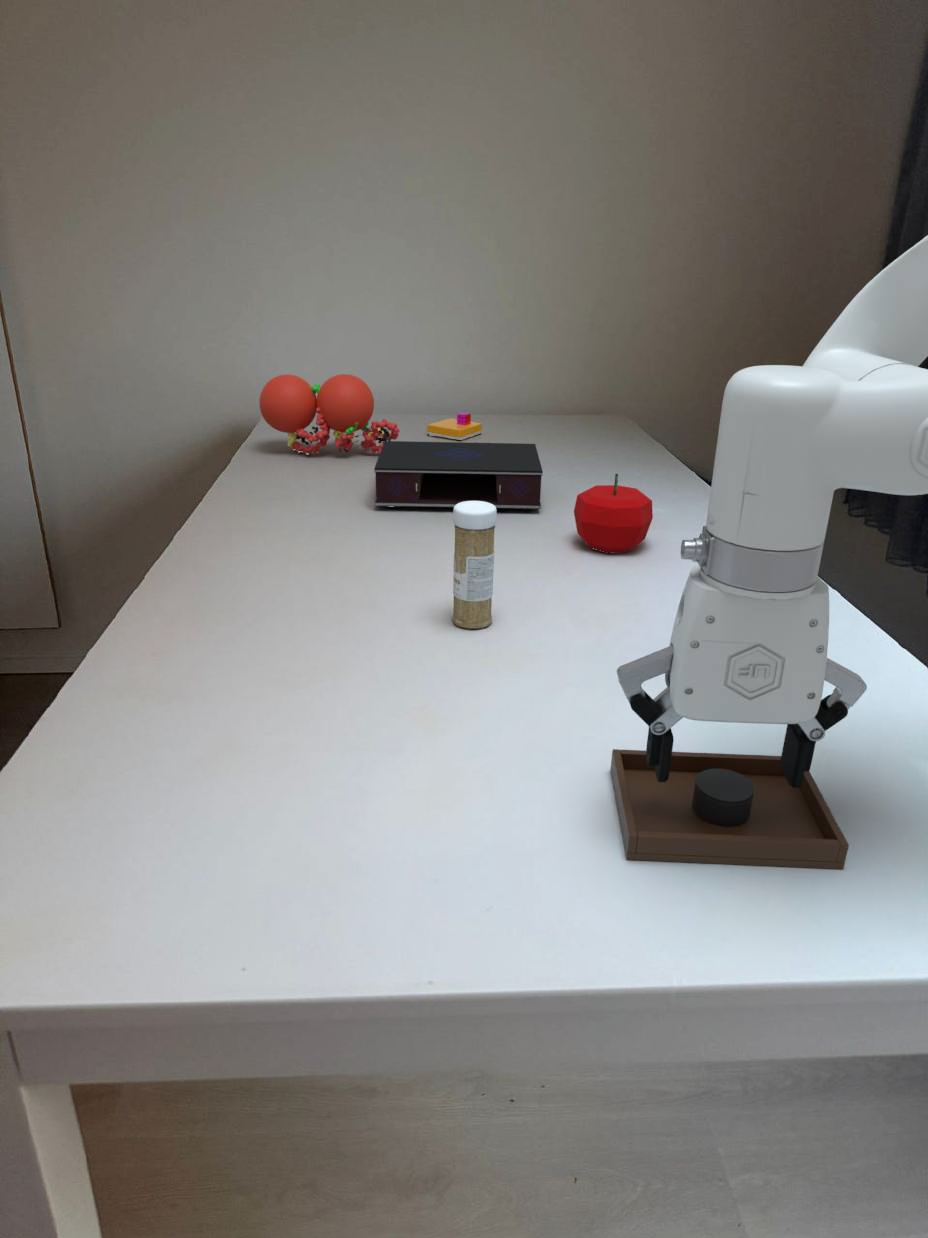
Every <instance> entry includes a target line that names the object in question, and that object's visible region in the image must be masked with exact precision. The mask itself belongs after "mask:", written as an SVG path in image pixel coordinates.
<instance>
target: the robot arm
mask: <svg viewBox="0 0 928 1238" xmlns="http://www.w3.org/2000/svg"><path fill="white" fill-rule="evenodd" d="M927 357H928V234H927V235H925V236H924V237H923V238H922V239H920V241H918V242H916V243H915V244H914V245H913V246H912V247H910V248H909V249H907V250H906V251H904V252H903V253H902V254H901V255H899V256H898V257H897V258H896V259H894V260H893V261H892V262H890V263H889V264H888V265H887V266H885V268H883V269H882V270H881V271H880V272H879V273H877V274H876V275H875V276H874V277H873V278H872V279H870V280H869V282H867V283H866V284H865V285H864V287H863V288H862V289H861V290H860V291H858V292H857V294H856V295H855V296H854V297H853V298H852V299H851V301H850V302H849V303H848V304H847V305H846V306H845V308H844V309H843V311H842V312H841V313H840V314H839V316H838V317H837V318H836V319H835V321H834V322H833V323H832V325H831V326H830V327H829V328H828V329H827V331H826V333H825V334H824V335H823V337H822V338H821V339H820V340H819V342H818V343H817V344H816V346H815V347H814V348H813V350H812V351H811V352H810V353H809V356H808V357H807V359H806V360H805V362H804V363H803V364H802V366H801V365H789V364H788V365H787V364H786V365H785V364H764V365H753V366H749V367H745V368H741V369H740V370H738V371H736V372H735V373H734V374H733V375H732V376H731V377H730V378H729V380H728V381H727V384H726V386H725V388H724V393H723V398H722V404H721V411H720V417H719V418H720V419H719V424H718V432H717V433H718V434H717V440H716V441H717V442H716V448H715V455H714V462H713V471H712V478H711V484H710V485H711V486H710V492H709V493H710V494H709V500H708V508H707V514H706V523H705V525H703V526H702V530H701V533H700V534H699V536H698V537H694V538H693V539H682V540H681V544H680V558H681V560H688V561H689V560H691V561H692V562H693V563H697V564H698V565H697V566H693V567H692V568H691V569H690V572H689V575H688V576H687V579H686V582H685V585H684V588H683V591H682V593H681V597H680V600H679V603H678V606H677V611H676V614H675V619H674V621H673V627H672V631H671V635H670V641H669V646H667V647H664V648H662V649H659V650H657V651H653V652H651V653H649V654H646V655H644V656H642V657H639V658H637V659H633V660H631V661H630V662H628V663H625V664H623V665H620V666H619V667H617V669H616V675H617V681H618V683H619V685H620V687H621V689H622V691H623V693H624V696H625V697H626V700H627V701H628V703H629V705H630V708H631V710H632V711H633V712H634V713H635V714H636V715H637V716H638V717H639V718H640V719H641V720H642V721H643V722H644V723H645V724H646V725H647V726H648V732H647V740H646V750H645V751H646V761H647V764H648V765H654V769H655V773H656V777H657V780H658V782H666V780H668V779H669V771H670V763H671V756H672V752H673V748H674V734H673V731H672V728H673V727H674V726H675V725H676V724H678V722H680V720H682V719H683V718H685V719H686V720H691V721H698V722H713V723H715V722H716V723H735V724H739V723H740V724H765V725H786V729H785V733H784V739H783V745H782V750H781V755H780V756H781V760H780V766H781V768H782V770H783V772H784V774H785V776H786V779H787V781H788V783H789V785H790V786H792V787H793V788H801V786H802V781H803V776H804V771H805V772H810V771H811V767H812V763H813V757H814V752H815V748H816V743H817V742H819V741H822V740H823V739H824V737H825V736H826V731H828V730H829V729H830V728H832V727H834V726H835V725H837V724H838V723H839V722H841V721H843V720H844V719H845V718H846V717H847V716H848V715H849V709H850V708H851V707H853V706H854V705H855V704H856V703H857V701H859V699H860V698H861V697H862V696H863V694H865V692H866V691H867V688H868V686H867V684H866V682H865V681H864V680H863V678H862V676H860V674H858V673H857V672H854V671H853V670H850V669H849V668H847V667H845V666H844V665H841V664H839V663H838V662H836V661H835V660H832V659H831V658H829V657H828V648H829V647H828V646H829V632H830V631H829V629H830V591H829V590H830V589H829V586H828V585H827V583H825V581H823V580H822V579H821V578H820V577H818V575H819V570H820V566H821V559H822V554H823V550H824V545H825V540H826V535H827V531H828V525H829V518H830V513H831V510H832V509H831V508H832V505H833V504H832V503H833V498H834V493H835V491H836V490H838V489H850V490H851V489H852V490H859V491H867V492H875V493H881V494H888V495H894V496H895V495H896V496H918V495H919V496H922V495H928V368H922V367H920V365H922V363H923V362H924V361H925V360H926V359H927ZM664 674H665V675H664ZM661 675H664V682H665V685H666V687H665V688H664V689H663V690H662V691H661V692H660V693H659V694H658V695H656V696H655V697H654V698H652V697H651V696H650V695H649V693H647V692H646V691H645V690H644V688H643V686H642V684H644V682H647V681H649V680H652V679H654V678H656V677H659V676H661ZM825 682H827V683H829V684H830V685H832V686H834V687H835V688H834V689H833V690H832V693H831V694H828V695H827V696H824V697H823V693H824V685H825ZM822 697H823V698H822Z"/></svg>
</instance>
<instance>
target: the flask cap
mask: <svg viewBox="0 0 928 1238" xmlns="http://www.w3.org/2000/svg"><path fill="white" fill-rule="evenodd" d="M753 795H754V786H753V784H752V782H751V781H750V780H749V779H748V778H746V777H745V776H743V775H742V774H739V773H737V772H735V771H731V770H727V769H718V768H715V769H708V770H704V771H702V772H700V773H699V774H698V775H697V777H696V781H695V788H694V794H693V801H692V807H693V810H694V812H695V813H696V814H697V815H698V816H699V817H700V818H702V819H703V820H705V821H707V822H709V823H712V824H715V825H719V826H728V827H730V826H738V825H741V824H743V823H745V822H746V821H747V820H748V819H749V816H750V811H751V806H752V800H753Z"/></svg>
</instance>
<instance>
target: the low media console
mask: <svg viewBox="0 0 928 1238" xmlns="http://www.w3.org/2000/svg"><path fill="white" fill-rule="evenodd" d="M383 442H384V444H383V447H382V449H381V452H380V454H378V457H377V460H376V463H375V465H374V469H373V470H374V471H373V472H374V474H375V502H374V503H375V504H374V507H387V506H395V507H407V508H409V507H410V508H411V507H413V508H415V507H416V508H454V506H455V505H456V504H458V503H460V502H465V501H483V502H488V503H491V504H493V505H494V506H495V507H496V509H520V510H522V509H529V510H530V509H531V510H541V508H542V503H541V492H542V476H543V475H544V473H543V468H542V464H541V460H540V457H539V453H538V448H537V445H536V443H519V442H518V443H516V442H515V443H513V442H510V443H509V442H463V441H455V442H454V441H403V440H399V441H398V440H395V441H394V440H391V441H388V440H387V441H383Z"/></svg>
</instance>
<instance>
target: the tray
mask: <svg viewBox="0 0 928 1238" xmlns="http://www.w3.org/2000/svg"><path fill="white" fill-rule="evenodd" d="M611 751H612V752H611V761H610V769H609V770H610V771H609V772H610V776H611V782H612V787H613V792H614V798H615V804H616V810H617V815H618V820H619V827H620V832H621V837H622V843H623V848H624V853H625V859H626V860H628V861H629V860H632V861H650V862H651V861H654V862H674V863H675V862H676V863H678V862H679V863H694V864H695V863H697V864H719V865H742V866H743V865H744V866H767V867H788V868H789V867H791V868H813V869H835V870H844V868H845V864H846V860H847V855H848V851H849V846H850V845H849V843H848V840H847V839H846V837H845V835H844V833H843V831H842V830H841V828H840V826H839V824H838V822H837V821H836V818H835V816H834V814H833V813H832V811H831V809H830V807H829V805H828V804H827V802H826V800H825V798H824V795H823V794H822V792H821V790H820V788H819V787H818V785H817V782H816V781H815V779H814V778H813V775H812V774H811V771H809V772H805V771H804V776H803V781H802V786H801V788H793V787H792V786H790V785H789V783H788V781H787V779H786V776H785V774H784V772H783V770H782V768H781V766H780V760H781V755H768V754H767V755H765V754H739V753H715V752H693V751H691V752H690V751H689V752H688V751H672V756H671V763H670V771H669V779H668V780H666V782H658V780H657V777H656V773H655V769H654V765H648V764H647V761H646V750H641V749H638V750H637V749H618V748H613V749H612V750H611ZM715 768H718V769H727V770H731V771H735V772H737V773H739V774H742V775H743V776H745V777H746V778H748V779H749V780H750V781H751V782H752V784H753V786H754V795H753V800H752V806H751V811H750V816H749V819H748V820H747V821H746V822H745V823H743V824H741V825H738V826H730V827H728V826H719V825H715V824H712V823H709V822H707V821H705V820H703V819H702V818H700V817H699V816H698V815H697V814H696V813H695V812H694V810H693V807H692V801H693V794H694V788H695V781H696V777H697V775H698V774H699V773H700V772H702V771H704V770H708V769H715Z"/></svg>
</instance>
